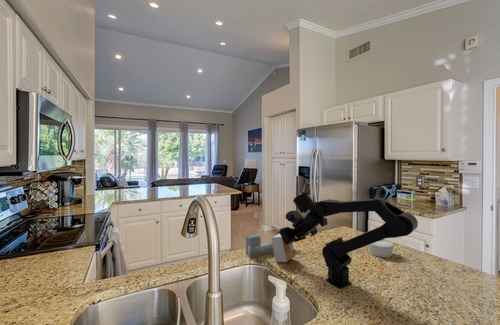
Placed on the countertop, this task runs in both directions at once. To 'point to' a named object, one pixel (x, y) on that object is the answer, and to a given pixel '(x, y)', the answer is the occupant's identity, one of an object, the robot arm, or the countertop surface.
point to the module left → (252, 241)
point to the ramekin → (381, 248)
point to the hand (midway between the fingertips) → (287, 242)
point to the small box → (282, 249)
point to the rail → (260, 249)
